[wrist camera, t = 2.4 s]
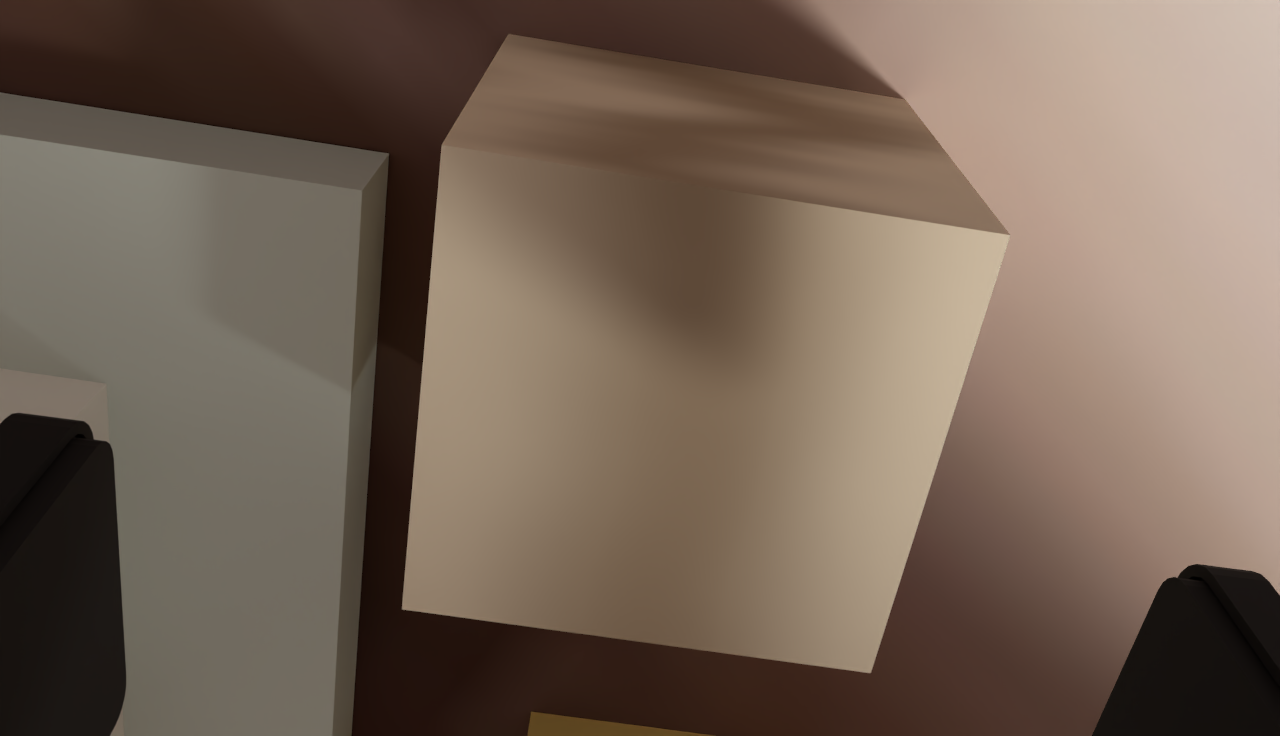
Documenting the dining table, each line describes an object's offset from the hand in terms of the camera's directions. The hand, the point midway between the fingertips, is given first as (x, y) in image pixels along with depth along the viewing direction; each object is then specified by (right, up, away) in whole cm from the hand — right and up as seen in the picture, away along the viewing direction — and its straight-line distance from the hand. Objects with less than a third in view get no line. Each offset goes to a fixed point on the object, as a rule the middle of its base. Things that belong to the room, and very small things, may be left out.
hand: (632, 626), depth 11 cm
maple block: (+1, +4, +10) cm, 11 cm away
